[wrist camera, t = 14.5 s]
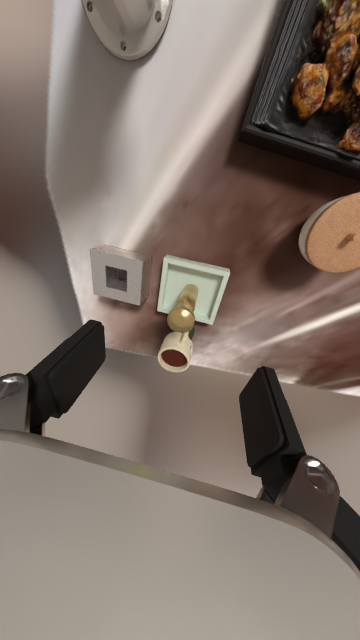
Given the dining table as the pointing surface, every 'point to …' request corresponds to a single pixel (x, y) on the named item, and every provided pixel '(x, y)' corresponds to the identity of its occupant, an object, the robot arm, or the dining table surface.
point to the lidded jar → (333, 235)
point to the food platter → (310, 87)
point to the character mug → (176, 351)
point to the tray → (199, 274)
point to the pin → (184, 310)
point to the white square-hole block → (107, 274)
